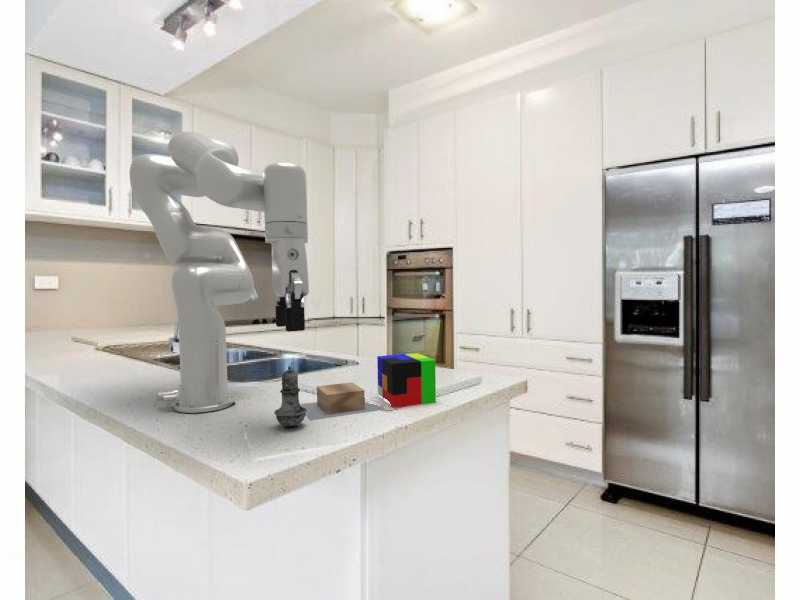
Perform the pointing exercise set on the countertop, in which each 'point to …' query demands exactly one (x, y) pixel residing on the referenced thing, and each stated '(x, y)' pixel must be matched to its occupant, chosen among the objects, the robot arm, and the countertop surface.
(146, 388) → the countertop surface
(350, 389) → the base block
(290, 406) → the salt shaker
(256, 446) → the countertop surface
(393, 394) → the puzzle toy
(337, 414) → the slate mat
